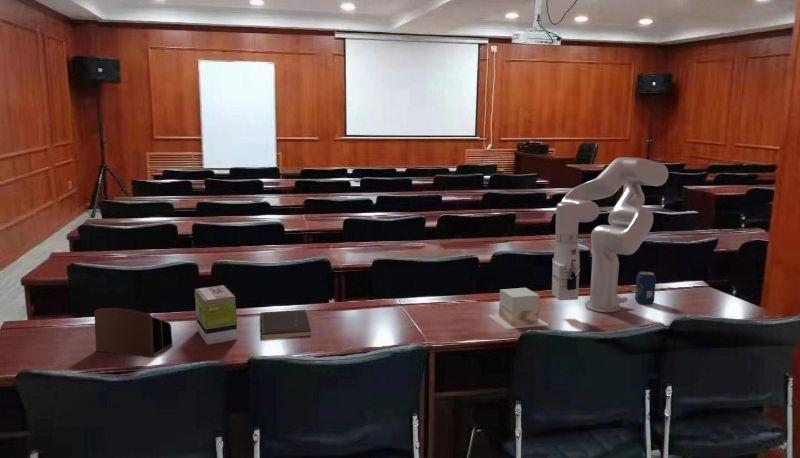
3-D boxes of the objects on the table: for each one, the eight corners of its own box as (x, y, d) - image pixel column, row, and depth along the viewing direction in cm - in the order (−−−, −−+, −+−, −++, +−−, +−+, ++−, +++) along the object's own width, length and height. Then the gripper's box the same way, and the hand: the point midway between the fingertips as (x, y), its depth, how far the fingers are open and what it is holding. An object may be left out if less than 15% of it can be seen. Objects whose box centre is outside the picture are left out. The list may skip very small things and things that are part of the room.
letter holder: (152, 358, 181) (149, 312, 178) (95, 352, 186) (91, 306, 183) (173, 346, 190) (170, 302, 188) (118, 340, 195) (114, 297, 193)
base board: (528, 314, 224) (528, 312, 224) (549, 327, 210) (549, 325, 210) (488, 318, 220) (488, 315, 220) (506, 331, 206) (506, 328, 206)
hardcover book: (305, 315, 223) (305, 309, 222) (311, 337, 201) (311, 330, 200) (260, 318, 219) (260, 312, 219) (260, 340, 197) (260, 333, 197)
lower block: (524, 314, 221) (525, 301, 220) (538, 323, 212) (538, 309, 211) (499, 316, 218) (499, 303, 217) (511, 325, 209) (512, 311, 208)
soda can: (631, 300, 243) (633, 270, 241) (648, 300, 244) (650, 270, 242) (640, 305, 237) (642, 275, 235) (657, 305, 237) (659, 274, 235)
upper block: (525, 301, 220) (525, 287, 219) (538, 309, 211) (539, 295, 210) (499, 303, 217) (500, 289, 217) (512, 311, 208) (512, 297, 207)
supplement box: (551, 294, 222) (552, 260, 220) (571, 293, 223) (572, 259, 220) (558, 300, 215) (559, 265, 213) (578, 299, 216) (579, 264, 213)
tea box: (196, 331, 204) (193, 287, 202) (226, 326, 209) (224, 284, 207) (206, 345, 191) (203, 299, 189) (238, 340, 196) (236, 295, 194)
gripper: (590, 241, 208) (588, 292, 211) (563, 232, 224) (561, 278, 227) (570, 243, 206) (568, 294, 209) (544, 233, 222) (543, 280, 225)
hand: (565, 285), depth 218 cm, fingers closed on supplement box, 8 cm apart
